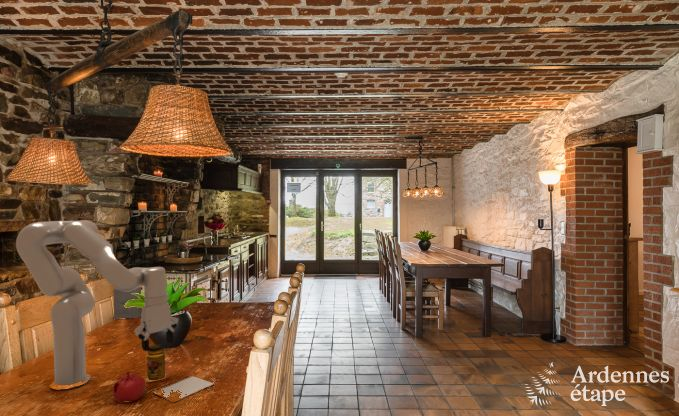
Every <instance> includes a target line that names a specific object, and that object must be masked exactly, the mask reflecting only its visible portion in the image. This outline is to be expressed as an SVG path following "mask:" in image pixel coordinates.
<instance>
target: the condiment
mask: <svg viewBox="0 0 679 416" xmlns="http://www.w3.org/2000/svg"><path fill="white" fill-rule="evenodd" d="M147 353H148V354H147V356H146V361H147V366H146V367H147V369H146V371H147V375H148V379H149V380H158V379H162V378H164V377H165V371H166V354H165V353H166V352H165V349H164V345H163V344H160V343H158V344H153V345H149V351H147Z"/></svg>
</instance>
